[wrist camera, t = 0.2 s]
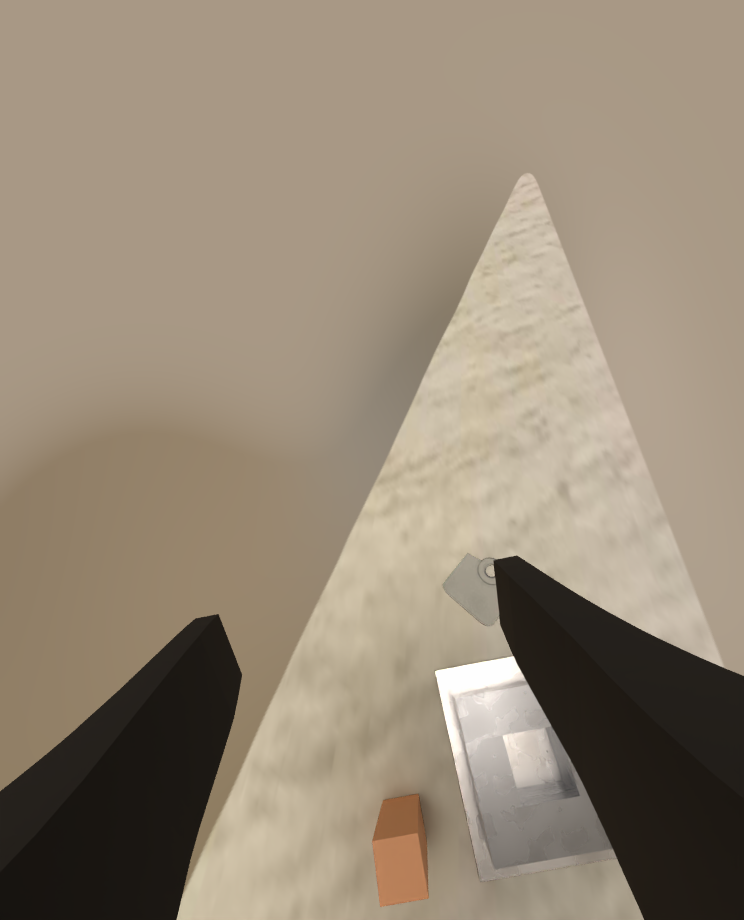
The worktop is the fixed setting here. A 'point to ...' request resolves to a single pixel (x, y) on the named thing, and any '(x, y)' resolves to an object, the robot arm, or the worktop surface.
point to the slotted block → (515, 776)
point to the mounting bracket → (474, 589)
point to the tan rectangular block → (401, 851)
